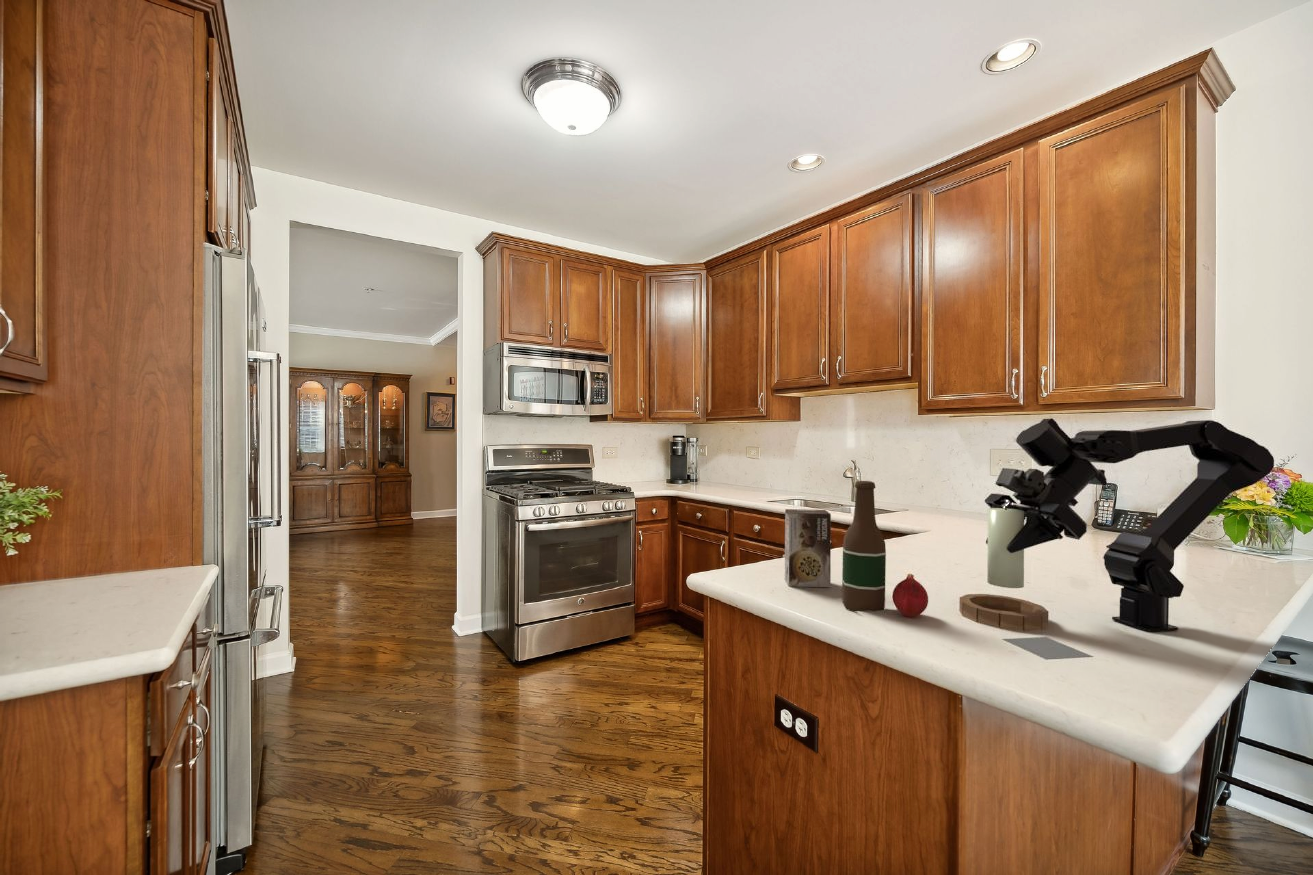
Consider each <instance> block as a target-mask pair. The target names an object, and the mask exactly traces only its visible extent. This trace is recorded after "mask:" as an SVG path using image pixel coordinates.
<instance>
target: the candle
mask: <svg viewBox="0 0 1313 875" xmlns="http://www.w3.org/2000/svg"><path fill="white" fill-rule="evenodd" d="M1024 525H1025V520H1024V511H1023V510H1017V509H1007V505H1005V508H990V507H989V508H987V538H988V545H987V584H989V585H992V586H995V587H1000V588H1006V589H1021V588H1022V589H1023V588H1025V549H1023V550H1020V551H1017V552H1014V553H1010V552H1009V551H1008V550H1007V547H1008V545H1009V544H1010V542H1011V541H1012V540H1013V538H1014V537H1015V536H1016V535H1017V533H1018V532H1019V531H1020V530H1021V529H1022V527H1023V526H1024Z"/></svg>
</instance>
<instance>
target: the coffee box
mask: <svg viewBox="0 0 1313 875" xmlns="http://www.w3.org/2000/svg"><path fill="white" fill-rule="evenodd" d="M784 510H785V511H784V518H785V521H784V523H785V526H784V527H785V528H784V580H785V583H786V584H787V586H788V587H796V588H797V587H803V588H805V587H806V588H831V582H832V581H831V573H832V572H831V564H832V562H831V556H832V555H831V554H832V553H831V533H832V531H831V530H832V529H831V525H832V522H831V521H832V520H831V519H832V517H831V516H832V514H831V512H829V511H827V510H826V509H807V508H806V509H798V508H795V509H794V508H793V509H792V508H791V509H790V508H789V509H788V508H786V509H784Z"/></svg>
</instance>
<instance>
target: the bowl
mask: <svg viewBox="0 0 1313 875" xmlns="http://www.w3.org/2000/svg"><path fill="white" fill-rule="evenodd" d="M958 603H959V610H958V611H959V614H961V615H960V616H962V617H963V618H966V619H968V620H970V621H972V622H975V623H978V624H980V625H986V626H988V627H989V626H990V627H993V628H998V629H1002V630H1003V629H1004V630H1012V631H1020V632H1031V631H1032V632H1035V631H1043V630H1045V629H1046V628H1048V627H1049V610H1048V609H1046V608H1045V607H1044V606H1043V605H1041V604H1038V603H1035V602H1031V601H1029V600H1026V599H1022V598H1017V597H1012V596H1007V595H1006V596H1005V595H998V594H991V593H989V594H988V593H969V594H965V595H962V596H959V602H958Z"/></svg>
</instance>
